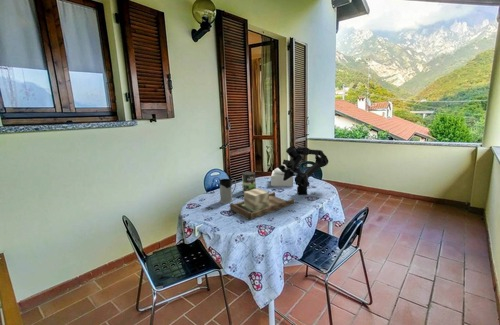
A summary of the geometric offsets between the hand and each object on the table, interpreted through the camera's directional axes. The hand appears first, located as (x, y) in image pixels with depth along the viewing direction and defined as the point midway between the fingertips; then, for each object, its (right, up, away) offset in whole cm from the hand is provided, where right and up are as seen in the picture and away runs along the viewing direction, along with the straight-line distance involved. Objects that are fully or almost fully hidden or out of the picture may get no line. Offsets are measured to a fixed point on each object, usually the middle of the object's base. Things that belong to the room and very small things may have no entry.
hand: (283, 180), depth 166 cm
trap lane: (-14, -16, -8) cm, 23 cm away
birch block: (-19, -15, -11) cm, 26 cm away
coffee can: (-23, -10, +25) cm, 36 cm away
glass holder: (-37, -14, +7) cm, 41 cm away
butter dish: (+5, -6, +42) cm, 42 cm away
